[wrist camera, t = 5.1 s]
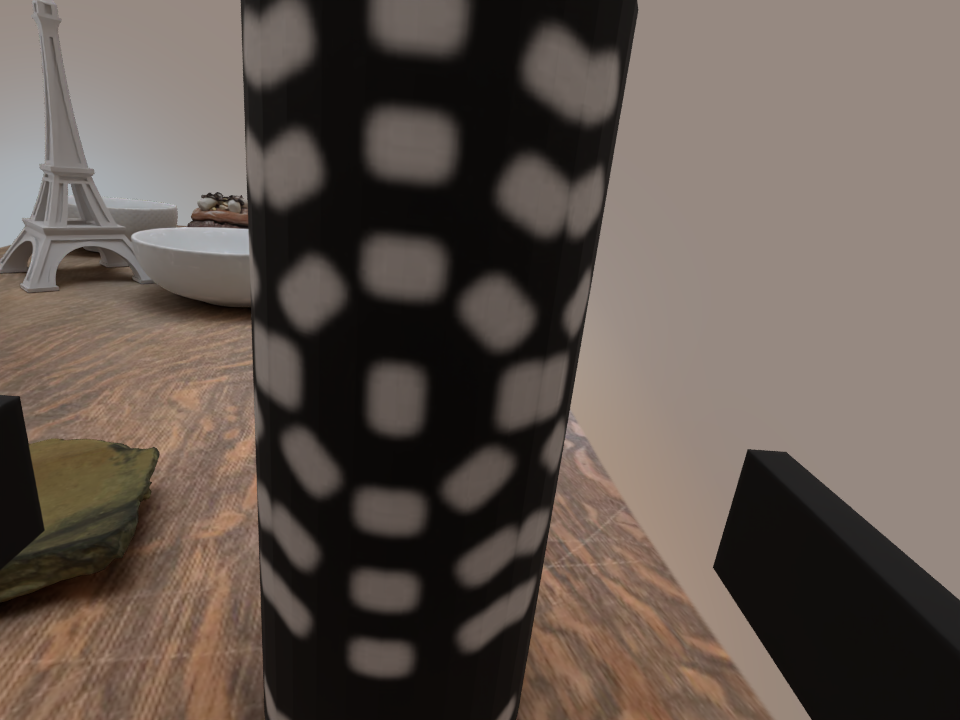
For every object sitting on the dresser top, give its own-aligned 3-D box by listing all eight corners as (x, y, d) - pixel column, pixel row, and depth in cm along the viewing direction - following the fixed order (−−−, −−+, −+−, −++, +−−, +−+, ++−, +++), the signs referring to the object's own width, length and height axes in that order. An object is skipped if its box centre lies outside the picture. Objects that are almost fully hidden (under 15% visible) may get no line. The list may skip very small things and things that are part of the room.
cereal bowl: (180, 260, 79) (177, 210, 77) (35, 258, 71) (26, 202, 69) (179, 242, 93) (176, 199, 91) (58, 238, 85) (51, 191, 83)
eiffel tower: (165, 281, 66) (140, -4, 57) (27, 292, 56) (-31, -52, 47) (122, 262, 74) (94, 8, 64) (-6, 268, 64) (-62, -32, 54)
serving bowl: (360, 292, 72) (362, 239, 70) (286, 334, 52) (286, 262, 50) (212, 272, 74) (209, 220, 71) (86, 306, 54) (77, 235, 52)
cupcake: (259, 258, 86) (257, 193, 83) (259, 270, 78) (256, 198, 75) (191, 255, 83) (187, 187, 80) (183, 268, 74) (177, 192, 71)
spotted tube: (527, 831, 15) (701, -54, 8) (215, 804, 14) (141, -120, 8) (513, 601, 22) (596, 58, 16) (311, 582, 22) (313, 25, 16)
